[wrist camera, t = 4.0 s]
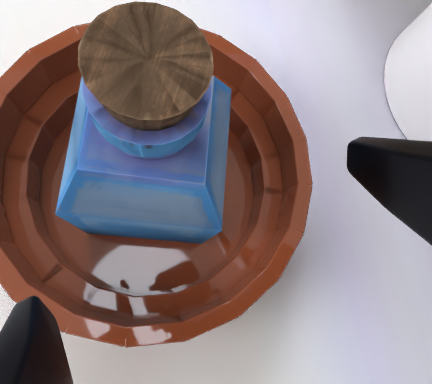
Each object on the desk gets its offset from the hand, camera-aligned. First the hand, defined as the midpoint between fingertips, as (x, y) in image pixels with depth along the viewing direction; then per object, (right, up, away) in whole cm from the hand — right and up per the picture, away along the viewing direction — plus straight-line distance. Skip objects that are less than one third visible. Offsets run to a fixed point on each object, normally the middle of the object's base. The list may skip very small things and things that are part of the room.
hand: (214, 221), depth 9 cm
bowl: (-4, +1, +11) cm, 12 cm away
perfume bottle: (-4, +1, +11) cm, 12 cm away
